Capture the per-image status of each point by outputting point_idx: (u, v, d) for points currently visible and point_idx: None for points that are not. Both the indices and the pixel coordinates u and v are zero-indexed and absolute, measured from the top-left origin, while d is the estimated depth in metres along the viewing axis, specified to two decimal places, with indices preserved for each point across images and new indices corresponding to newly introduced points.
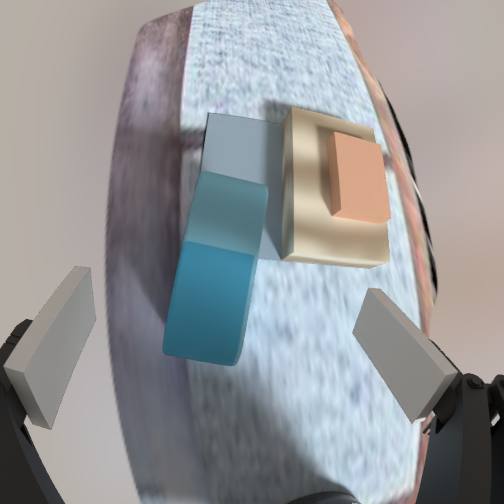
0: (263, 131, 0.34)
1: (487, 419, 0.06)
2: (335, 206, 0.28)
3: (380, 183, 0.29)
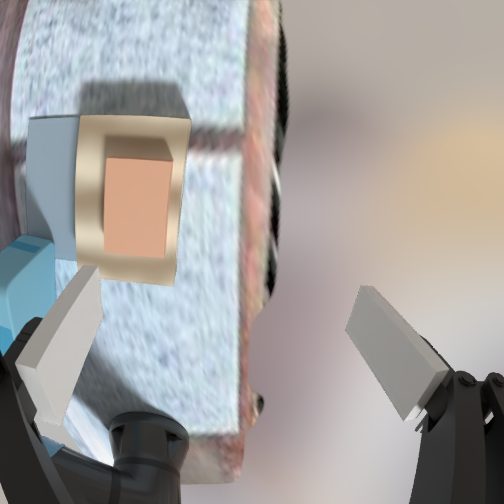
0: (73, 131, 0.26)
1: (480, 417, 0.06)
2: None
3: (156, 218, 0.26)
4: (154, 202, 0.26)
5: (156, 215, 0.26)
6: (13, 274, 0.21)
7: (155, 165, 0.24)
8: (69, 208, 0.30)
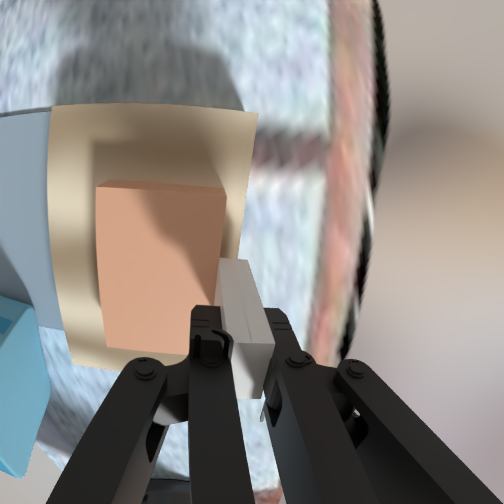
0: (46, 135, 0.15)
1: (331, 401, 0.07)
2: None
3: (197, 298, 0.15)
4: (193, 271, 0.14)
5: (197, 293, 0.15)
6: None
7: (194, 203, 0.13)
8: (49, 258, 0.18)
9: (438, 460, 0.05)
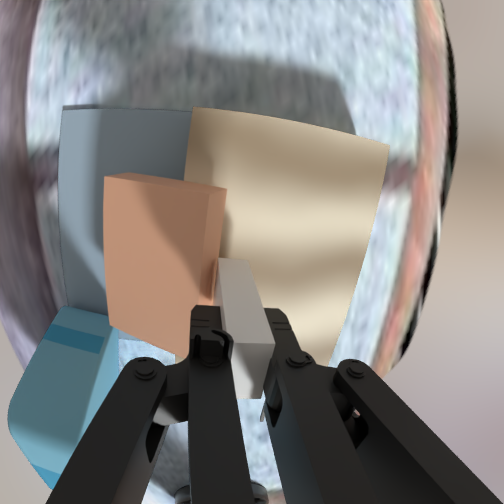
0: (154, 135, 0.17)
1: (331, 401, 0.07)
2: None
3: (182, 298, 0.14)
4: (178, 269, 0.14)
5: (182, 293, 0.14)
6: (80, 415, 0.12)
7: (179, 198, 0.13)
8: None
9: (438, 460, 0.05)
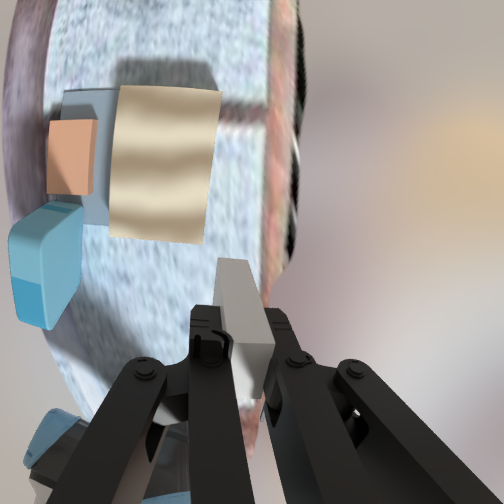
0: (108, 103, 0.29)
1: (331, 401, 0.07)
2: (90, 188, 0.32)
3: None
4: None
5: None
6: (48, 228, 0.24)
7: None
8: (101, 174, 0.32)
9: (438, 460, 0.05)
